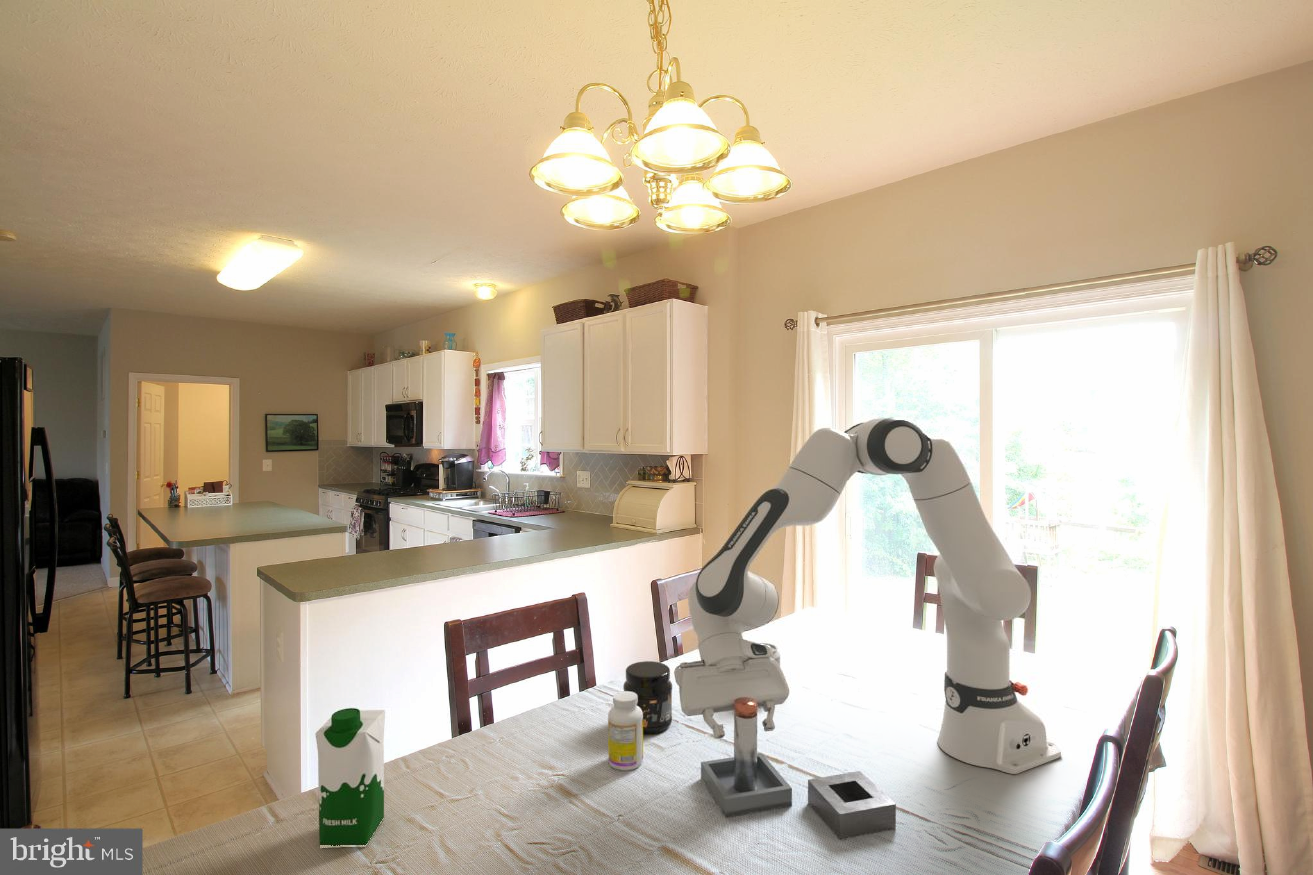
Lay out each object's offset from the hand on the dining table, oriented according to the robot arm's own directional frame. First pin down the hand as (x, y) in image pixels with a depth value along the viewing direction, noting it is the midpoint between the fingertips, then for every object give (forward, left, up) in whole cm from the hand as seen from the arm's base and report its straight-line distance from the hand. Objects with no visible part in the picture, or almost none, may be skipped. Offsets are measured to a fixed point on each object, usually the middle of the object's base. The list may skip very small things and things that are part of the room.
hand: (745, 733), depth 110 cm
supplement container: (+10, -29, -11) cm, 33 cm away
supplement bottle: (+18, -15, -11) cm, 26 cm away
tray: (0, 0, -10) cm, 10 cm away
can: (-20, -35, -11) cm, 42 cm away
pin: (0, 0, -10) cm, 10 cm away
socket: (-14, +11, -10) cm, 20 cm away
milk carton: (+64, -6, -11) cm, 65 cm away
